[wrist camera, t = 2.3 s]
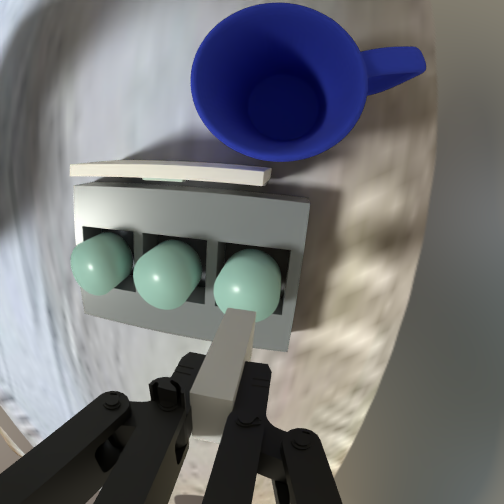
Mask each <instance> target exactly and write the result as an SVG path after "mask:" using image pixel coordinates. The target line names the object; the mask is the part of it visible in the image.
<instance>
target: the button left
mask: <svg viewBox="0 0 504 504" xmlns="http://www.w3.org/2000/svg"><path fill="white" fill-rule="evenodd" d="M132 267H133V257H132V253H131V250H130V248H129V246H128V244H127V243H126V241H125V240H124V239H123V238H122V237H120V236H119V235H117V234H115V233H113V232H103V233H101V234H98V235H96V236H94V237H92V238H90V239H88V240H86V241H84V242H82V243H80V244H78V245H77V246H76V247H75V248H74V250H73V252H72V255H71V268H72V272H73V275H74V277H75V279H76V281H77V282H78V284H79V285H80V286H81V287H82V288H83V289H84V290H85V291H87V292H88V293H90V294H93V295H97V296H101V295H105V294H107V293H108V292H109V291H111V290H112V289H113V288H114V287H116V286H117V285H118V284H119V283H120V282H122V281H123V280H124V279H125V278H127V277H128V276H129V274H130V273H131V270H132Z"/></svg>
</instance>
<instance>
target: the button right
mask: <svg viewBox="0 0 504 504" xmlns="http://www.w3.org/2000/svg"><path fill="white" fill-rule="evenodd" d="M280 289H281V271H280V268H279V265H278V264H277V262H276V261H275V260H274V258H273V257H271V256H270V255H269V254H267V253H266V252H263V251H261V250H257V249H245V250H241V251H238V252H236V253H235V254H233V255H232V256H231V257H230V258H229V259H228V260H227V262H226V264H225V265H224V267H223V269H222V270H221V272H220V274H219V275H218V277H217V279H216V281H215V284H214V298H215V301H216V303H217V305H218V307H219V308H220V310H221V311H222V312H223V313H224V314H225V312H226V310H227V308H234V309H241V310H248V311H255V312H256V320H255V322H259V321H262V320H264V319H266V318H268V317H269V316H270V315H271V314H272V313H273V312H274V311H275V310H276V308H277V306H278V303H279V299H280Z"/></svg>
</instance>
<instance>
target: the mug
mask: <svg viewBox="0 0 504 504" xmlns="http://www.w3.org/2000/svg"><path fill="white" fill-rule="evenodd" d="M425 70H426V63H425V59H424V57H423V54H422V52H421V51H420V50H419V49H418V48H417V47H386V48H378V49H371V50H366V51H362V52H360V50H359V48H358V46H357V45H356V43H355V42H354V40H353V39H352V38H351V36H350V35H349V34H348V33H347V32H346V31H345V30H344V29H343V28H342V27H341V26H340V25H339V24H338V23H336V22H335V21H334V20H332V19H331V18H329V17H328V16H326V15H324V14H322V13H320V12H318V11H316V10H314V9H311V8H308V7H305V6H301V5H297V4H290V3H265V4H259V5H255V6H251V7H248V8H245V9H242V10H240V11H237V12H236V13H234V14H232V15H230V16H228V17H227V18H225V19H224V20H222V21H221V22H220V23H218V24H217V25H216V26H215V27H214V28H213V29H212V30H211V31H210V32H209V33H208V35H207V36H206V37H205V39H204V40H203V42H202V43H201V45H200V47H199V48H198V51H197V53H196V55H195V58H194V61H193V65H192V70H191V93H192V97H193V101H194V104H195V107H196V110H197V112H198V114H199V116H200V118H201V119H202V121H203V123H204V124H205V126H206V127H207V128H208V129H209V131H210V132H211V133H212V134H213V135H214V136H215V137H216V138H218V139H219V140H220V141H221V142H222V143H224V144H225V145H227V146H228V147H230V148H231V149H233V150H235V151H237V152H239V153H241V154H244V155H246V156H249V157H252V158H255V159H259V160H265V161H274V162H288V161H297V160H302V159H306V158H310V157H313V156H315V155H318V154H320V153H322V152H324V151H326V150H328V149H330V148H331V147H333V146H334V145H336V144H337V143H339V142H340V141H341V140H342V139H343V138H344V137H345V136H346V135H347V134H348V133H349V132H350V131H351V130H352V128H353V127H354V126H355V124H356V123H357V121H358V119H359V118H360V115H361V113H362V111H363V109H364V105H365V102H366V98H367V96H368V95H372V94H376V93H379V92H382V91H385V90H388V89H390V88H392V87H395V86H397V85H399V84H401V83H403V82H405V81H407V80H410V79H412V78H414V77H416V76H418V75H420V74H422V73H423V72H424V71H425Z"/></svg>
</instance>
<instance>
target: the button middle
mask: <svg viewBox="0 0 504 504" xmlns="http://www.w3.org/2000/svg"><path fill="white" fill-rule="evenodd" d="M201 277H202V263H201V260H200V257H199V255H198V254H197V252H196V251H195V250H194V249H193V248H192V247H191V246H190V245H188V244H187V243H185V242H183V241H180V240H173V239H172V240H166V241H163V242H161V243H160V244H158V245H157V246H155V247H154V248H153V249H151V250H150V251H148V252H147V253H145V254H144V255H143V256H142V257H140V258H139V260H138V261H137V263H136V265H135V267H134V272H133V278H134V284H135V287H136V289H137V291H138V293H139V294H140V296H141V297H142V298H143V299H144V300H145V301H146V302H147V303H149V304H150V305H152V306H154V307H156V308H159V309H164V310H170V309H175V308H178V307H180V306H181V305H182V304H183V303H185V301H186V300H187V299H188V297H189V296H190V294H191V293H192V292H193V290H194V289H195V287H196V286H197V285H198V283H199V281H200V279H201Z"/></svg>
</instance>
